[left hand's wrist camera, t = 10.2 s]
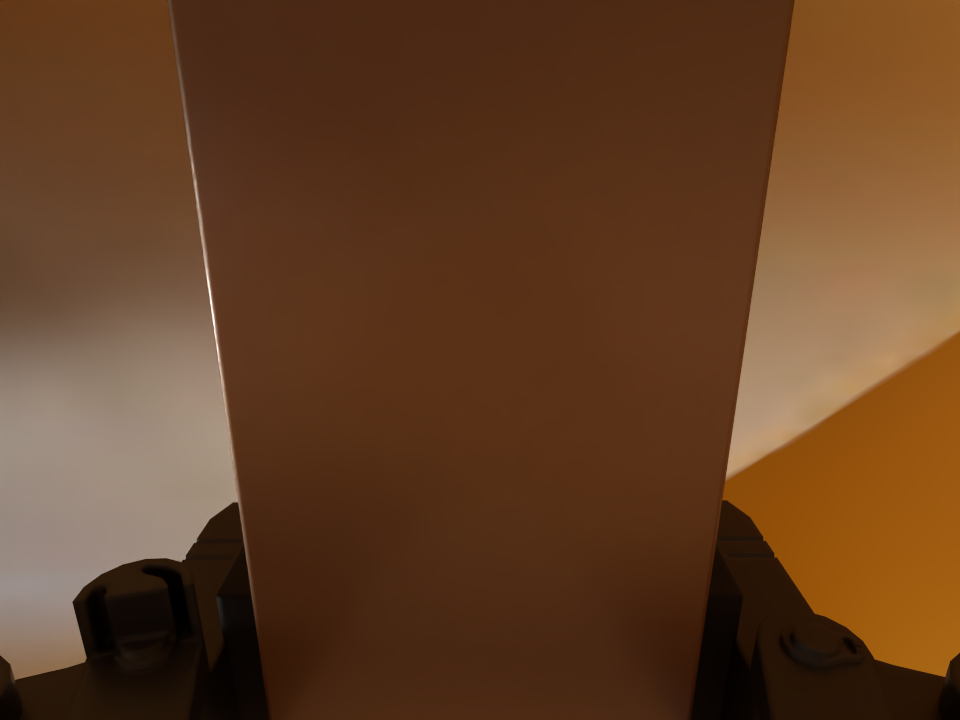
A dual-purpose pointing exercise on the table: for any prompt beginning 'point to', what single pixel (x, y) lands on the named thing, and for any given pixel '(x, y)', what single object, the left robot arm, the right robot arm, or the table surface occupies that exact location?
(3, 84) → the table surface
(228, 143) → the bar
